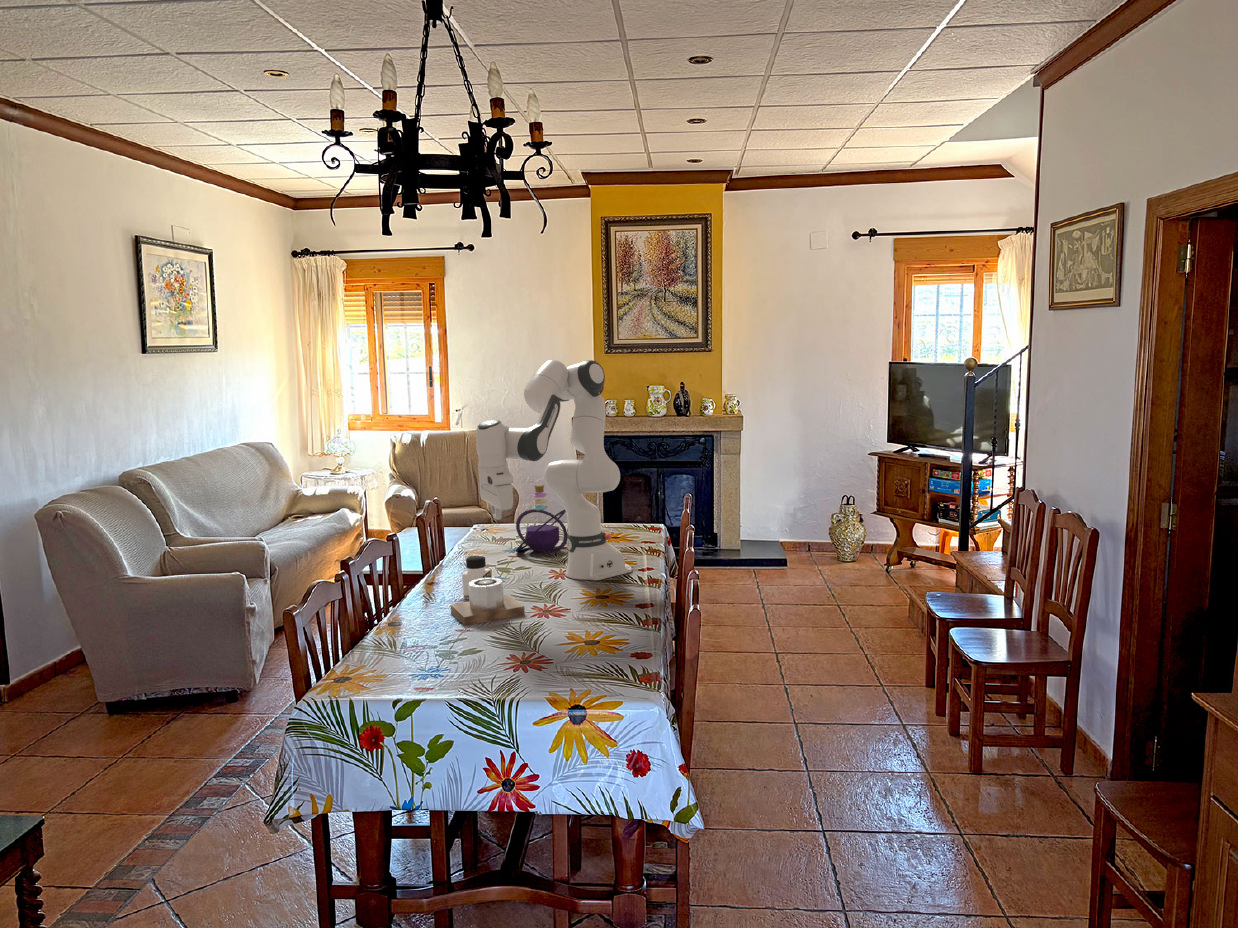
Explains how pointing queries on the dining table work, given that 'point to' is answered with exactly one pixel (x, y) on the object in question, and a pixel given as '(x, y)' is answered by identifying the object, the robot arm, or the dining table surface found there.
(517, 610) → the mounting block
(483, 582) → the gray white-topped cylinder
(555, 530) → the decorative bottle
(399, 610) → the dining table surface
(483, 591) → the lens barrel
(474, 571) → the medicine bottle
